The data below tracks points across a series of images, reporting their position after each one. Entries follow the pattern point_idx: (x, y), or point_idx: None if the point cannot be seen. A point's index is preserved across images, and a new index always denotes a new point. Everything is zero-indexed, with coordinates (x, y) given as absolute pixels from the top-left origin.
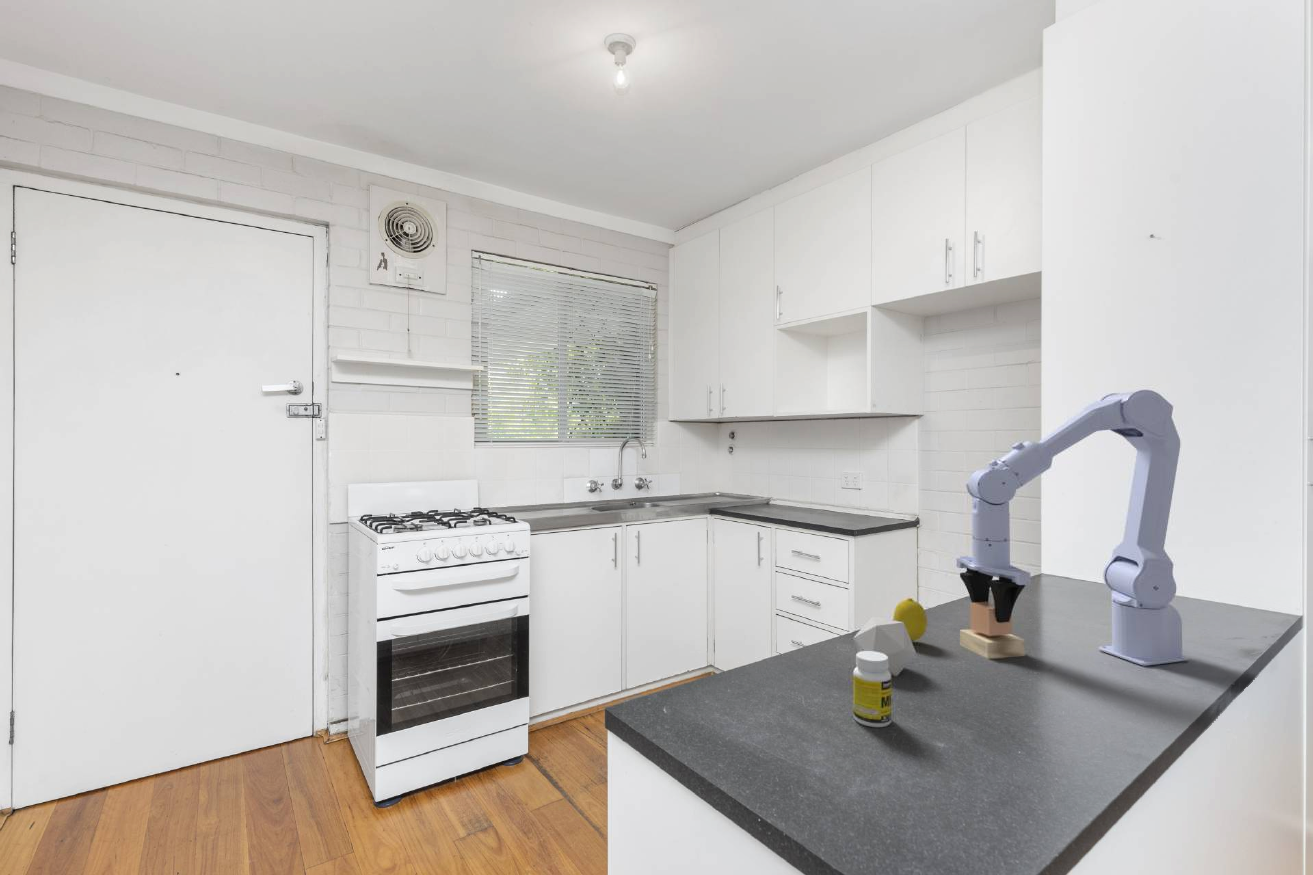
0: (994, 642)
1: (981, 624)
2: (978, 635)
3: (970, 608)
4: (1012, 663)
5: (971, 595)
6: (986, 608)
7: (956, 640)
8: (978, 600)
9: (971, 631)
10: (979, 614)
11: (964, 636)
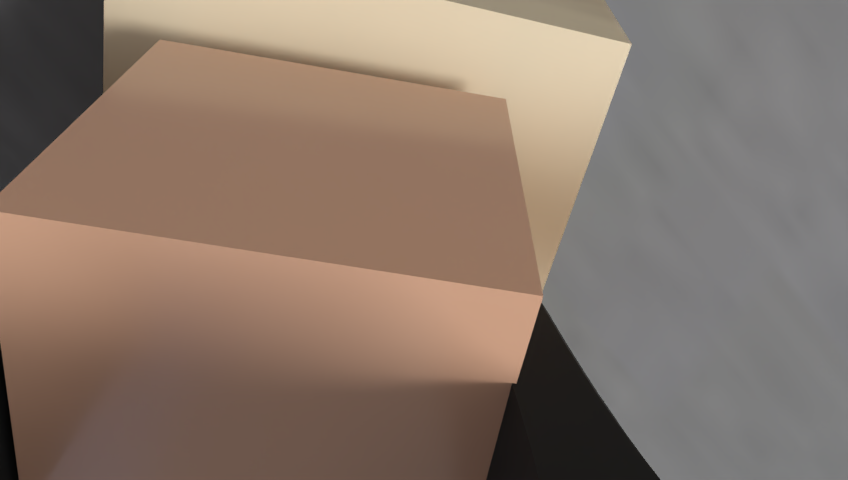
0: (104, 16)
1: (275, 101)
2: (365, 61)
3: (513, 232)
4: (4, 4)
5: (597, 474)
6: (51, 215)
7: (710, 78)
8: (497, 472)
9: (513, 115)
10: (292, 171)
11: (539, 8)
